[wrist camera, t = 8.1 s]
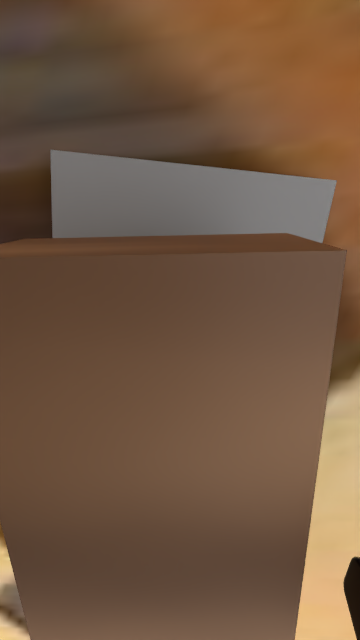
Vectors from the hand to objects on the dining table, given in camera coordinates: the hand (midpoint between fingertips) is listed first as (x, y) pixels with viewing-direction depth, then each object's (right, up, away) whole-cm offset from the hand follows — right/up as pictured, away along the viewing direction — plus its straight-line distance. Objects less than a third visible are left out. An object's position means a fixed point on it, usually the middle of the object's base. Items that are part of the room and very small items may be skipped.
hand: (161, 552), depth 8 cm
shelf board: (0, +1, +2) cm, 2 cm away
